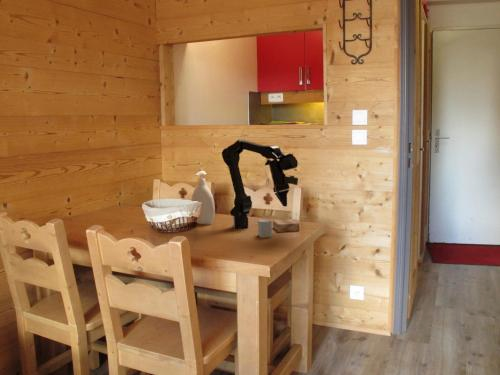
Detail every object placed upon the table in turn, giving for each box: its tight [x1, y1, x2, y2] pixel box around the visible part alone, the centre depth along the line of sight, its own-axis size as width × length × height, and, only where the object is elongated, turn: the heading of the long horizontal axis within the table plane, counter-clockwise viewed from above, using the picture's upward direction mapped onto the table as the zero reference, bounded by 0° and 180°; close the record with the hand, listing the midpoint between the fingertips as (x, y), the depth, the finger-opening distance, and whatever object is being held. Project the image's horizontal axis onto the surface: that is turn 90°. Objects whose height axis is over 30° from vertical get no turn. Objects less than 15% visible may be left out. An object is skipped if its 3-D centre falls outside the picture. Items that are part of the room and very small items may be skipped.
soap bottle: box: [191, 170, 216, 225], centre depth 252 cm, size 14×8×27 cm, turn 56°
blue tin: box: [257, 218, 273, 238], centre depth 225 cm, size 5×5×7 cm
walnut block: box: [272, 218, 300, 233], centre depth 238 cm, size 10×10×4 cm
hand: (285, 206), depth 226 cm, fingers open, 9 cm apart
